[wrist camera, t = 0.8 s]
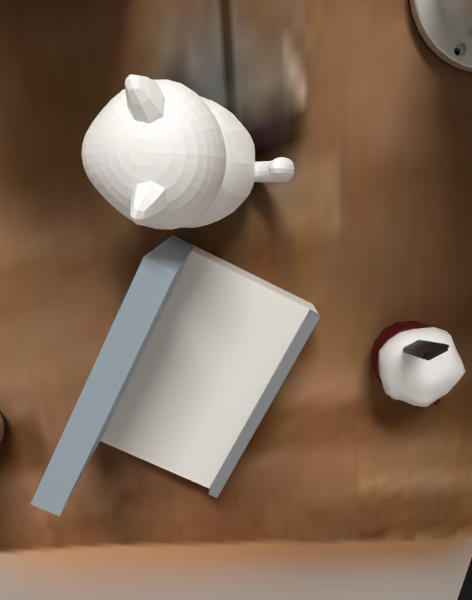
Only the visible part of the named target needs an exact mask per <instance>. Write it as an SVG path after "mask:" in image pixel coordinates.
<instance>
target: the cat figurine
mask: <svg viewBox="0 0 472 600" xmlns="http://www.w3.org/2000/svg"><path fill="white" fill-rule="evenodd" d="M82 161H83V167H84V169H85V172H86V174H87V176H88V178H89V180H90V181H91V183H92V184H93V185H94V187H95V188H96V189H97V191H98V192H99V193H100V194H101V195H102V196H103V197H104V198H105V199H106V200H107V201H108V202H109V203H110V204H111V205H112V206H113V207H114V208H115V209H117V210H118V211H119V212H120V213H122V214H123V215H124V216H126V217H127V218H128V219H130V220H132V221H133V222H134V223H136V224H138V225H143V226H146V227H151V228H155V229H170V230H172V229H176V228H196V227H200V226H205V225H208V224H211V223H214V222H216V221H219V220H221V219H223V218H224V217H226V216H228V215H229V214H231V213H233V212H234V211H235V210H236V209H237V208H238V207H239V206H240V205H241V204H242V203H243V201H244V200H245V199H246V198H247V197H248V195H249V194H250V192H251V190H252V188H253V185H254V182H285V181H288V180H290V179H291V178H292V176H293V173H294V165H293V163H292V161H291V160H290V159H288V158H283V157H280V158H275V159H274V160H273V161H264V162H255V146H254V143H253V141H252V138H251V136H250V134H249V133H248V132H247V130H246V129H245V128H244V127H243V125H242V124H241V123H240V122H239V120H238V119H237V118H236V117H235V116H234V115H233V113H231V112H230V111H228V110H227V109H225V108H224V107H222V106H220V105H219V104H217V103H216V102H213V101H211V100H208V99H206V98H203V97H199V96H198V95H197V94H196V93H195V92H194V91H192V90H191V89H189V88H187V87H186V86H184V85H183V84H181V83H177V82H174V81H170V80H152V79H150V78H148V77H145V76H139V75H132V74H130V75H129V76H128V77H127V78H126V81H125V89H123V90H122V91H121V92H120V93H118V94H117V95H116V96H115V97H114V98H112V99H111V100H110V101H109V103H108V104H107V105H106V106H105V107H104V108H103V109H102V110H101V112H100V113H99V114H98V115H97V117H96V118H95V119H94V121H93V122H92V124H91V125H90V127H89V129H88V131H87V132H86V134H85V137H84V141H83V144H82Z"/></svg>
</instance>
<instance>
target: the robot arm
mask: <svg viewBox="0 0 472 600" xmlns="http://www.w3.org/2000/svg"><path fill="white" fill-rule="evenodd" d="M410 5H411V11H412V15H413V18H414V21H415V23H416V26H417V28H418V31H419V33H420V34H421V36H422V37H423V39H424V41H425V42H426V44H427V45H428V46H429V47H430V48H431V49H432V51H433V52H434V53H435V54H436V55H437V56H438V57H440V58H441V59H443V60H444V61H446V62H447V63H449V64H450V65H452V66H454V67H457V68H459V69H462V70H464V71H467V72H472V0H410ZM454 50H456V51H457V52H458V54H457V55H456V54H455V52H454ZM458 600H472V559H471V562H470V565H469V568H468V571H467V573H466V576H465V580H464V582H463V586H462V588H461V591H460V594H459V597H458Z"/></svg>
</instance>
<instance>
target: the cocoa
mask: <svg viewBox="0 0 472 600" xmlns="http://www.w3.org/2000/svg"><path fill="white" fill-rule="evenodd" d="M372 362H373V365H374V369H375V372H376V375H377V378H378V380H379V381H380V383H381V384H382V385H383V388H384V391H385V393H386V394H387V395H389V396H390V397H391V398H393V399H395V400H402V401H404V402H407V403H409V404H411V405H414V406H422V407H427V406H429V405H430V404H432V403H434V404H435V405H436V404H438V403H439V402H440V400H439V398H441V397H442V396H444V395H445V394H447V393H448V392H449V391H450V390H451V389H452V388H453V387H454V386H455V384H456V383H457V382H458V381H459V380H460V378H461V377H462V376H463V375H464V373H465V372H466V371H465V368H464V365H463V363H462V360H461V358H460V356H459V354H458V352H457V350H456V348H455V345H454V343H453V340H452V337H451V335H450V334H449V333H448V332H447V331H445V330H442V329H439V328H436V327H431V326H428V325H425V324H422V323H419V322H415V321H408V322H399V323H395V324H393V325H391V326H389V327H388V328H386V329H384V330H383V331H382V332H381V334H380V335H379V336H378V338H377V339H376V340H375V342H374V346H373V351H372Z"/></svg>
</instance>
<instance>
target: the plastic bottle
mask: <svg viewBox="0 0 472 600" xmlns="http://www.w3.org/2000/svg"><path fill="white" fill-rule="evenodd" d="M3 436H4V422H3V418H2V416H1V413H0V443H1V441H2V439H3Z"/></svg>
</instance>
